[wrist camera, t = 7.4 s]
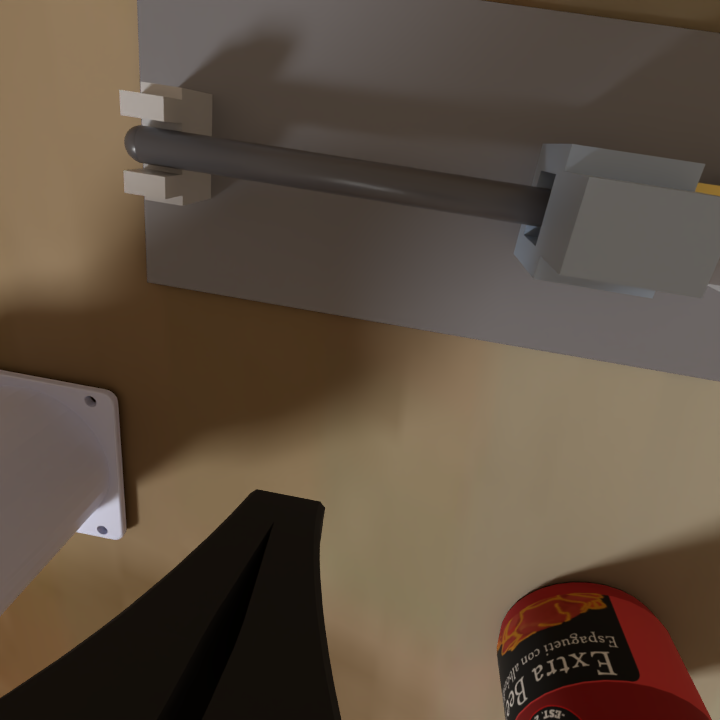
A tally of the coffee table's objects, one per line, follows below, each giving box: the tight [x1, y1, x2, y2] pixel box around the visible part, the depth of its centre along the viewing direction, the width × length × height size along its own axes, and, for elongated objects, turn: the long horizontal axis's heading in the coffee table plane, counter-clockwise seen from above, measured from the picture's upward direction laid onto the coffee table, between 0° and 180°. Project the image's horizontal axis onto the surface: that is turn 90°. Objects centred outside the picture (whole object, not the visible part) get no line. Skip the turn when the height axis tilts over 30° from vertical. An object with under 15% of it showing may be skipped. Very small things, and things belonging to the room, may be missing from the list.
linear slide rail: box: [119, 0, 720, 381], centre depth 15 cm, size 21×10×4 cm, turn 82°
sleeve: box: [514, 144, 720, 299], centre depth 13 cm, size 3×3×5 cm
